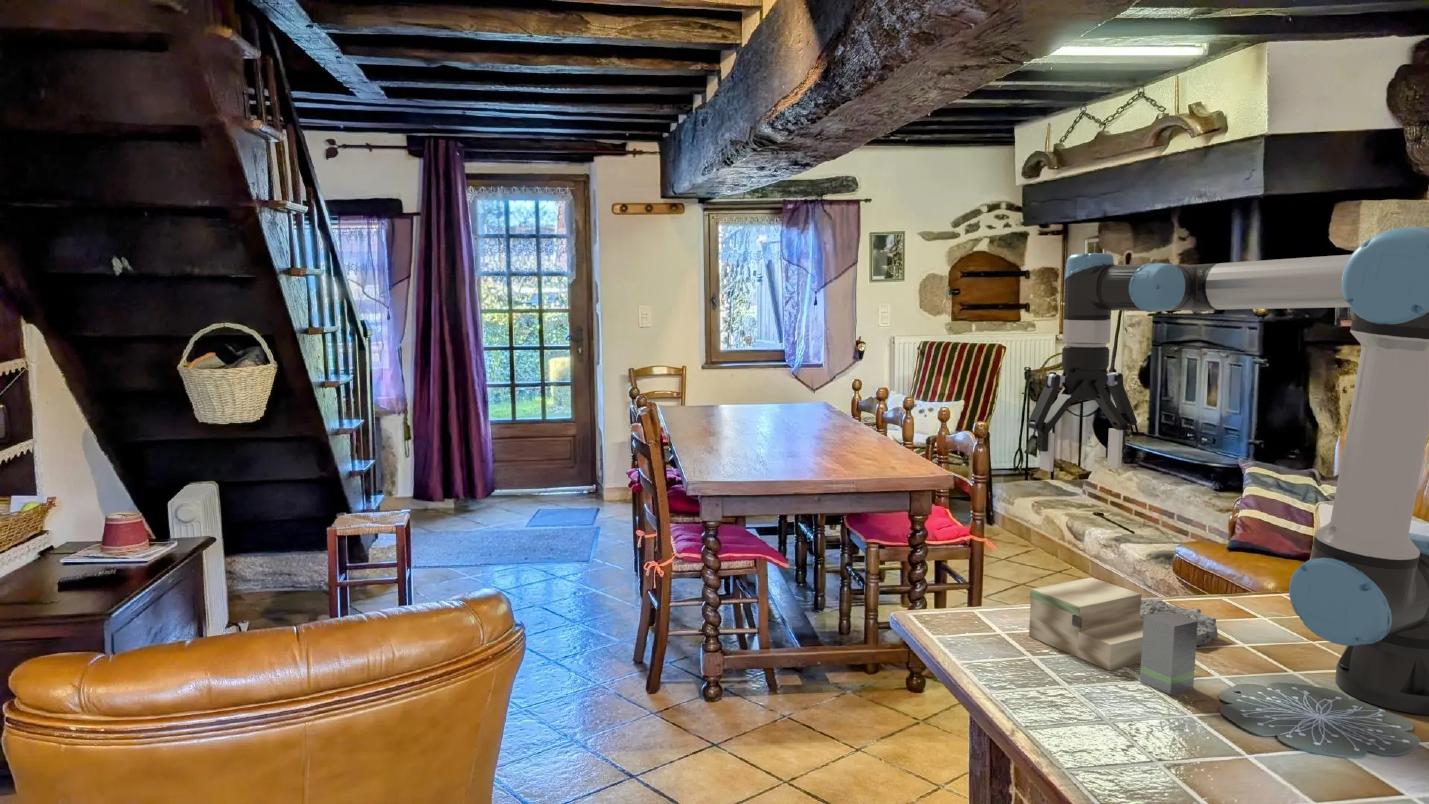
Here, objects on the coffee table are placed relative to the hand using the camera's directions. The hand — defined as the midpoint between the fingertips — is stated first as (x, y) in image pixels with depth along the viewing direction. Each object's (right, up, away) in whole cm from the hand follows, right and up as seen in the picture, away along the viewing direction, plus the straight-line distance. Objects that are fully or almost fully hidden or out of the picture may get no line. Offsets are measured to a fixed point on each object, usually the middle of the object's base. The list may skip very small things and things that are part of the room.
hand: (1080, 468), depth 166 cm
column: (+2, -30, -27) cm, 40 cm away
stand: (-2, -28, -11) cm, 30 cm away
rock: (+13, -28, -5) cm, 31 cm away
